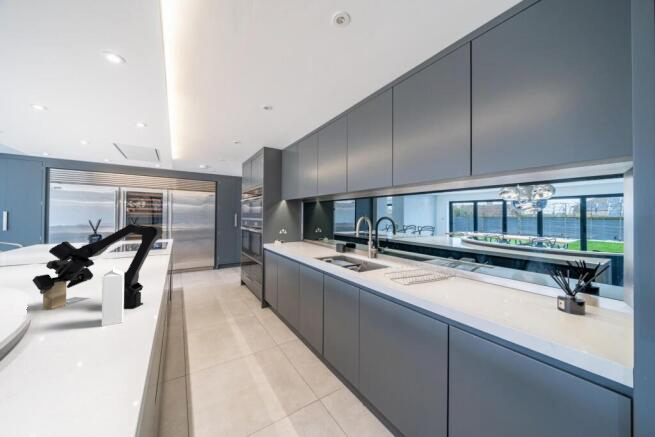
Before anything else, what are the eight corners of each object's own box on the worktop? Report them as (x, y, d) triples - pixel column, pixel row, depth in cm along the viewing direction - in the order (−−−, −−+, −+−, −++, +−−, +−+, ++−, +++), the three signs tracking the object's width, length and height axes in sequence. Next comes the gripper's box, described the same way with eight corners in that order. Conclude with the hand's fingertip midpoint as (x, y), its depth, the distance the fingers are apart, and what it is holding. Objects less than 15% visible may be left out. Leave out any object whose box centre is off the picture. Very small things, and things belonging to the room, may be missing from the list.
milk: (101, 326, 90) (101, 268, 90) (104, 321, 95) (104, 266, 95) (122, 322, 94) (123, 267, 94) (124, 317, 98) (124, 264, 98)
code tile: (90, 299, 120) (90, 298, 120) (68, 305, 111) (68, 304, 111) (74, 298, 121) (74, 296, 121) (51, 304, 112) (51, 303, 112)
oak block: (66, 307, 109) (66, 279, 109) (51, 311, 104) (52, 282, 104) (57, 306, 110) (57, 279, 110) (42, 310, 105) (43, 282, 105)
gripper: (88, 250, 116) (70, 272, 117) (35, 256, 97) (15, 282, 99) (101, 267, 114) (83, 289, 116) (51, 276, 96) (29, 302, 98)
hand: (54, 290), depth 107 cm, fingers open, 9 cm apart
